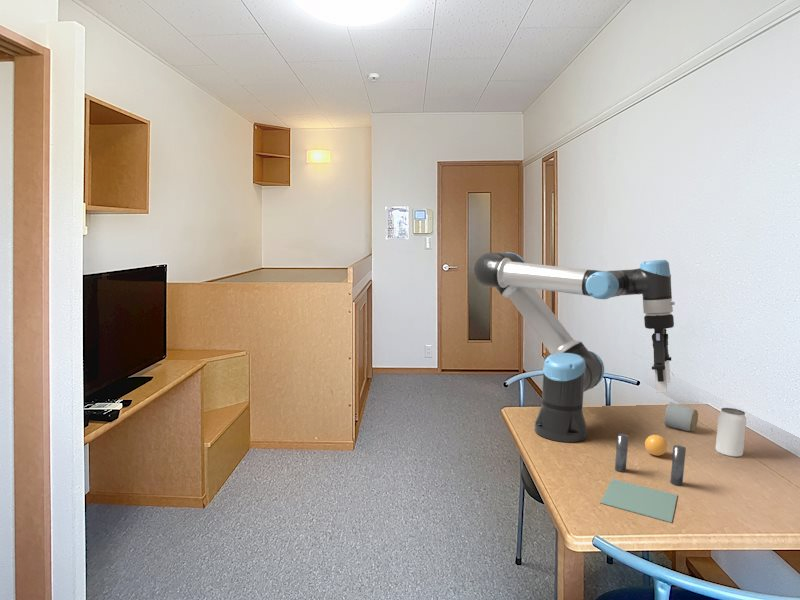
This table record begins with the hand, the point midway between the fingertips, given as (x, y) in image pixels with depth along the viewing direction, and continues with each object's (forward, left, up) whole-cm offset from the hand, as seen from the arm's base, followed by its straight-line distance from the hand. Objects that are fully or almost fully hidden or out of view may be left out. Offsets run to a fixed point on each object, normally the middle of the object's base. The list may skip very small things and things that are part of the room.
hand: (663, 387), depth 148 cm
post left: (-6, -27, -16) cm, 32 cm away
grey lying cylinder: (+4, +18, -17) cm, 25 cm away
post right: (+6, -27, -16) cm, 32 cm away
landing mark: (0, -41, -16) cm, 44 cm away
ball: (0, -11, -13) cm, 17 cm away
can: (+17, +3, -16) cm, 24 cm away
